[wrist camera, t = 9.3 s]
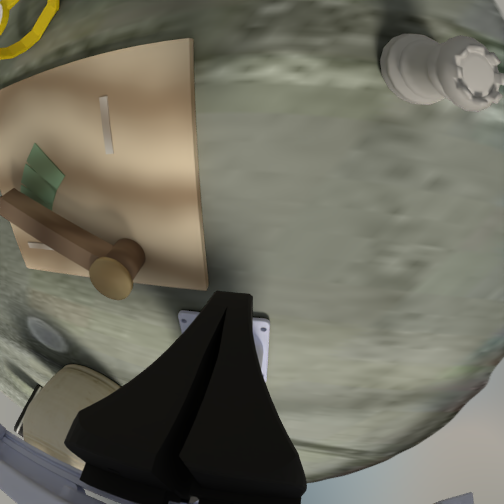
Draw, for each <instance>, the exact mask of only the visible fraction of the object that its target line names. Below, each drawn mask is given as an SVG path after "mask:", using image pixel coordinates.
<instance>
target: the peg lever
mask: <svg viewBox="0 0 504 504" xmlns="http://www.w3.org/2000/svg"><path fill="white" fill-rule="evenodd" d="M0 215H1V216H2V217H4V218H5V219H7V220H8V221H10V222H11V223H13V224H14V225H16V226H17V227H19V228H20V229H22V230H23V231H25V232H26V233H28V234H29V235H31V236H32V237H34V238H35V239H37V240H39V241H40V242H42V243H43V244H45V245H47V246H48V247H50V248H51V249H53V250H55V251H56V252H58V253H59V254H61V255H63V256H64V257H66V258H68V259H69V260H71V261H73V262H74V263H76V264H78V265H80V266H81V267H83V268H85V269H86V270H88V271H89V276H90V280H91V282H92V284H93V285H94V287H95V288H96V289H97V290H98V291H99V292H100V293H101V294H103V295H104V296H106V297H108V298H111V299H114V300H122V299H125V298H126V297H128V295H129V294H130V292H131V290H132V288H133V280H134V278H135V277H136V275H137V274H138V272H139V270H140V269H141V267H142V266H143V264H144V263H145V253H144V251H143V249H142V247H141V246H140V245H139V244H138V243H137V242H135V241H133V240H131V239H128V238H122V239H119V240H118V241H117V242H116V243H115V244H114V245H111V244H109V243H108V242H106V241H104V240H102V239H100V238H99V237H97V236H95V235H93V234H91V233H90V232H88V231H86V230H84V229H82V228H81V227H79V226H77V225H75V224H74V223H72V222H70V221H68V220H67V219H65V218H63V217H61V216H60V215H58V214H56V213H55V212H53V211H51V210H50V209H48V208H46V207H44V206H43V205H41V204H39V203H38V202H36V201H34V200H33V199H31V198H29V197H28V196H26V195H25V194H23V193H21V192H20V191H18V190H16V189H15V188H13V189H11V190H10V191H8V192H7V193H6V194H4V195H3V196H1V197H0Z"/></svg>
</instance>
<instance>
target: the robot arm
mask: <svg viewBox="0 0 504 504" xmlns="http://www.w3.org/2000/svg"><path fill="white" fill-rule="evenodd" d="M178 318H179V323H180V327H181V332H182V335H181V336H180V337H179V338H178V339H177V340H176V341H175V342H174V343H173V344H172V345H171V346H170V347H169V348H168V349H167V350H166V351H165V352H164V353H163V354H162V355H161V356H160V357H159V358H158V359H157V360H156V361H155V362H153V363H152V364H151V365H150V366H149V367H148V368H146V369H145V370H144V371H143V372H141V373H140V374H139V375H138V376H136V377H135V378H134V379H132V380H131V381H130V382H128V383H127V384H125V385H124V386H122V387H121V388H119V389H118V390H116V391H114V392H113V393H111V394H110V395H108V396H107V397H105V398H103V399H101V400H99V401H98V402H96V403H94V404H92V405H90V406H88V407H86V408H84V409H82V410H80V411H79V412H78V414H77V415H76V417H75V419H74V420H73V423H72V425H71V427H70V429H69V432H68V434H67V436H66V439H65V441H64V444H65V446H66V447H67V448H68V449H69V450H70V451H71V452H72V453H74V454H75V455H76V456H78V457H79V458H80V459H82V460H83V461H84V462H86V463H85V466H84V469H83V471H82V470H80V469H77V468H75V467H73V466H71V465H69V464H67V463H65V462H63V461H60V460H58V459H56V458H54V457H53V456H51V455H49V454H47V453H45V452H43V451H41V450H39V449H38V448H36V447H34V446H32V445H30V444H29V443H27V442H25V441H24V440H22V439H20V438H19V437H17V436H15V435H13V434H12V433H11V432H9V431H7V430H6V429H5V427H3V426H2V425H1V424H0V489H1V490H2V491H3V492H4V493H6V494H7V495H8V496H9V497H10V498H11V499H13V500H14V501H15V502H17V503H18V504H106V503H104V502H102V501H99V500H97V499H95V498H92V497H90V496H88V495H86V494H85V490H84V489H86V490H89V491H91V492H93V493H95V494H98V495H100V496H103V497H105V498H108V499H110V500H113V501H115V502H118V503H121V504H301V496H302V495H303V494H304V493H305V491H306V489H307V485H306V484H307V483H306V477H305V474H304V470H303V467H302V464H301V461H300V458H299V455H298V452H297V450H296V449H295V447H294V445H293V443H292V442H291V440H290V438H289V436H288V434H287V432H286V430H285V428H284V426H283V424H282V422H281V420H280V418H279V416H278V413H277V411H276V409H275V406H274V404H273V402H272V399H271V397H270V394H269V392H268V389H267V386H266V383H265V382H266V381H267V366H268V350H269V332H270V321H269V320H268V319H265V318H254V317H253V297H252V296H251V295H250V294H245V293H233V292H222V291H216V292H215V293H214V294H213V295H212V297H211V298H210V300H209V301H208V302H207V304H206V305H205V306H204V308H203V309H202V310H201V312H194V311H186V310H181V311H180V312H179V313H178ZM184 319H185V320H184ZM262 327H264V328H262ZM83 488H84V489H83ZM434 504H474V502H473V493H472V492H469V493H466V494H463V495H459V496H456V497H452V498H448V499H445V500H442V501H439V502H436V503H434Z"/></svg>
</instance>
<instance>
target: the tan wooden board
mask: <svg viewBox="0 0 504 504" xmlns="http://www.w3.org/2000/svg"><path fill="white" fill-rule="evenodd" d="M13 188H15V189H16V190H18V191H20V192H21V193H23V194H25V195H26V196H28V197H29V198H31V199H33V200H34V201H36V202H38V203H39V204H41V205H43V206H44V207H46V208H48V209H50V210H51V211H53V212H55V213H56V214H58V215H60V216H61V217H63V218H65V219H67V220H68V221H70V222H72V223H74V224H75V225H77V226H79V227H81V228H82V229H84V230H86V231H88V232H90V233H91V234H93V235H95V236H97V237H99V238H100V239H102V240H104V241H106V242H108V243H109V244H111V245H114V244H115V243H116V242H117V241H118V240H119V239H122V238H128V239H131V240H133V241H135V242H137V243H138V244H139V245H140V246H141V247H142V249H143V251H144V253H145V263H144V264H143V266H142V267H141V269H140V270H139V272H138V274H137V275H136V277H135V278H134V280H133V283H139V284H148V285H157V286H166V287H175V288H185V289H194V290H205V291H207V288H208V285H209V281H208V271H207V261H206V251H205V240H204V229H203V218H202V206H201V193H200V179H199V165H198V149H197V131H196V111H195V86H194V50H193V39H191V38H185V39H176V40H169V41H162V42H156V43H150V44H144V45H139V46H134V47H129V48H124V49H120V50H115V51H111V52H107V53H103V54H99V55H95V56H91V57H88V58H84V59H81V60H77V61H74V62H71V63H68V64H65V65H62V66H59V67H56V68H53V69H50V70H47V71H44V72H42V73H39V74H36V75H34V76H31V77H29V78H26V79H24V80H21V81H19V82H16V83H14V84H12V85H10V86H7V87H5V88H3V89H1V90H0V190H1V193H2V196H3V195H4V194H6V193H7V192H8V191H10V190H11V189H13ZM10 223H11V222H10ZM11 226H12V229H13V232H14V235H15V237H16V240H17V243H18V246H19V248H20V251H21V253H22V256H23V258H24V261H25V263H26V266H27V268H31V269H37V270H43V271H50V272H57V273H63V274H70V275H77V276H84V277H90V276H89V271H88V270H86V269H85V268H83V267H81V266H80V265H78V264H76V263H74V262H73V261H71V260H69V259H68V258H66V257H64V256H63V255H61V254H59V253H58V252H56V251H55V250H53V249H51V248H50V247H48V246H47V245H45V244H43V243H42V242H40V241H39V240H37V239H35V238H34V237H32V236H31V235H29V234H28V233H26V232H25V231H23V230H22V229H20V228H19V227H17V226H16V225H14V224H13V223H11Z"/></svg>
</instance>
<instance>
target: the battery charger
mask: <svg viewBox="0 0 504 504" xmlns="http://www.w3.org/2000/svg"><path fill="white" fill-rule="evenodd" d="M41 389H42V387H40V386H38V385H37V386H36V387H35V389H34V391H33V393H32V395H31V396H30V398H29V400H28V402H27V404H26V405H25V407H24V409H23V411H22V413H21V415H20V417H19V419H18V420H17V422H16V425H15V427H14V431H15V432H16V433H18V434H19V435H21V436H22V437H23V420H24V416H25V412H26V410H27V407H28V406H29V404H30V402H31V401H32V400H33V399H34V397H35V396H36V395H37V394H38V393H39V392H40V391H41Z"/></svg>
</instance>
